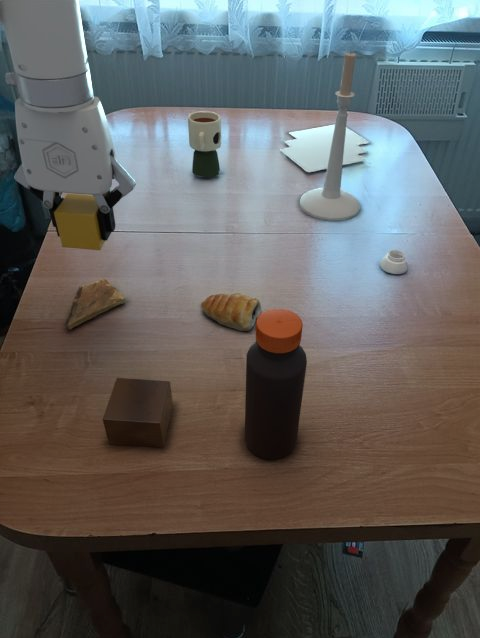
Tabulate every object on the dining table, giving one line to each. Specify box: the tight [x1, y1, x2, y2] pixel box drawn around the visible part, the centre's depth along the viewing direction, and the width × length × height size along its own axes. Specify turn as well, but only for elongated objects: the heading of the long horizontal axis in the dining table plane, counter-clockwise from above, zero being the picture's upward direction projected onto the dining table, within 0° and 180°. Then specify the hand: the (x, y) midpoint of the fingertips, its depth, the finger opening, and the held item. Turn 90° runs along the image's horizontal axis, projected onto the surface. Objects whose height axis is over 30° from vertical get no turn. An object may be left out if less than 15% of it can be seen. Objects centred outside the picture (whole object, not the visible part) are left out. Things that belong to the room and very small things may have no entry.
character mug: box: [187, 110, 222, 179], centre depth 120 cm, size 11×7×13 cm, turn 175°
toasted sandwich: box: [64, 278, 126, 330], centre depth 87 cm, size 11×8×2 cm
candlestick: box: [299, 52, 361, 222], centre depth 105 cm, size 13×13×30 cm
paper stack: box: [278, 124, 371, 173], centre depth 137 cm, size 23×25×1 cm
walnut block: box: [102, 377, 174, 449], centre depth 69 cm, size 7×7×5 cm
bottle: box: [244, 307, 308, 460], centre depth 63 cm, size 7×7×20 cm
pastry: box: [200, 292, 262, 332], centre depth 87 cm, size 9×7×4 cm
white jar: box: [379, 249, 409, 275], centre depth 99 cm, size 5×3×5 cm
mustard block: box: [54, 193, 106, 251], centre depth 70 cm, size 5×5×5 cm
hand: (85, 231), depth 71 cm, fingers closed on mustard block, 5 cm apart
